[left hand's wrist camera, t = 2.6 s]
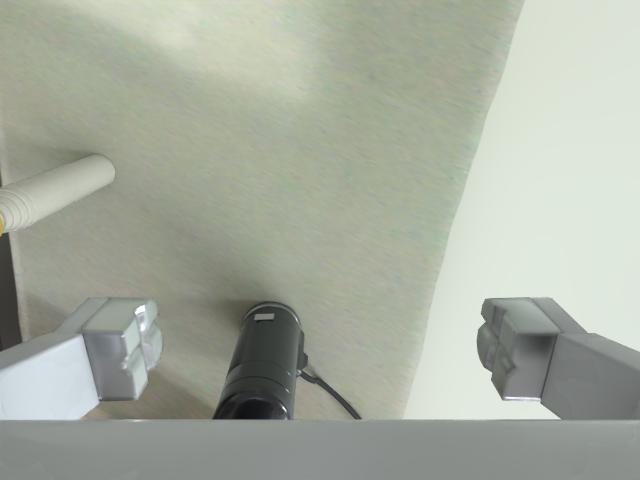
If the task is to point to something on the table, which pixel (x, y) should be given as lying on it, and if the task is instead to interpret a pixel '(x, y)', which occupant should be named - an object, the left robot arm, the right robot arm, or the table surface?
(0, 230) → the cap
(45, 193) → the bottle
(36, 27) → the table surface
